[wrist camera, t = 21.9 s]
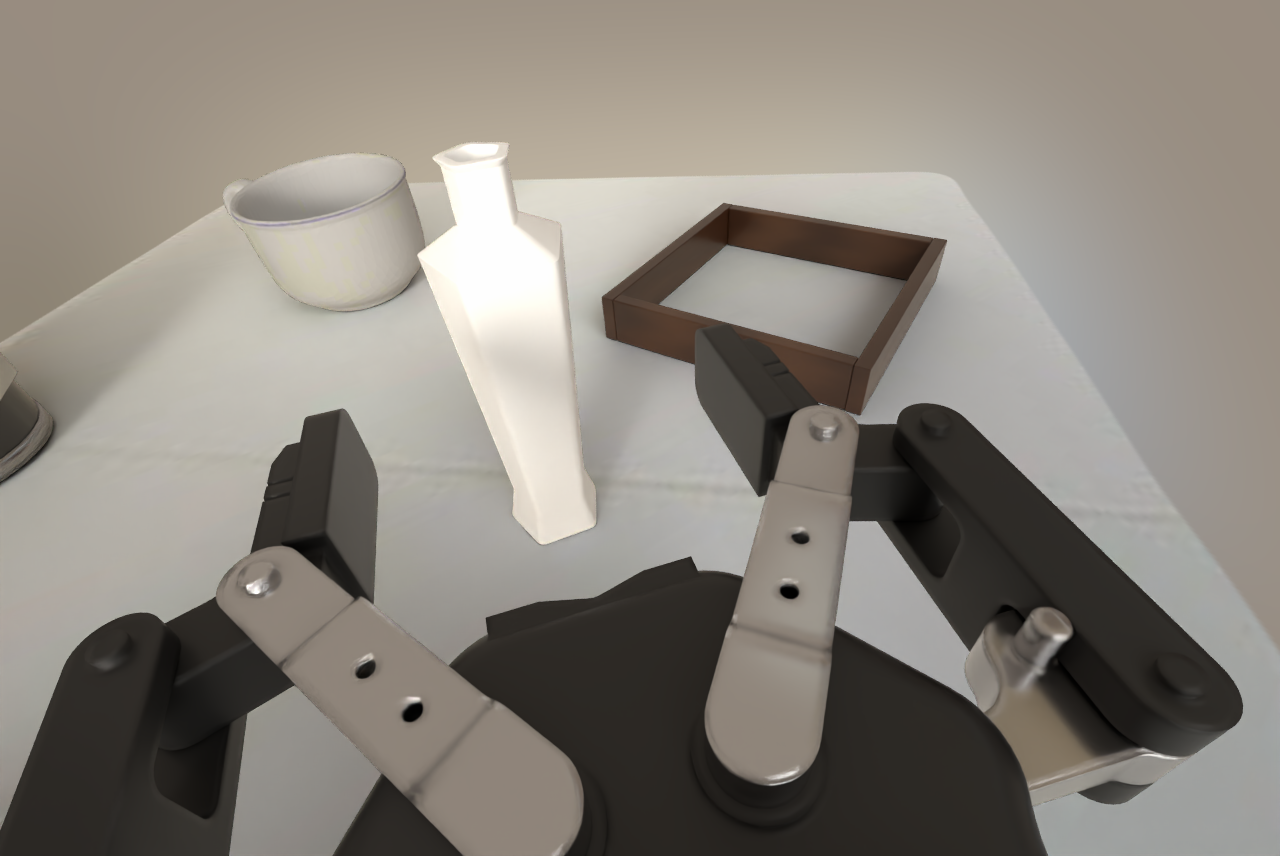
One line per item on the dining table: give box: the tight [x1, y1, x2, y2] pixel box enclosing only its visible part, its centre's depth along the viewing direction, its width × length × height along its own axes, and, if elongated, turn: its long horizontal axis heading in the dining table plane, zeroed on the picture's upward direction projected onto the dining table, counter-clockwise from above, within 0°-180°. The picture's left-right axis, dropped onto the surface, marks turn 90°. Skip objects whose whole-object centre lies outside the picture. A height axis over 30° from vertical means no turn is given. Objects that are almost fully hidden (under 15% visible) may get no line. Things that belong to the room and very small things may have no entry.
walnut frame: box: [602, 203, 947, 415], centre depth 37 cm, size 16×16×3 cm
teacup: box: [223, 153, 425, 311], centre depth 42 cm, size 14×11×8 cm
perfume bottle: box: [417, 142, 597, 545], centre depth 22 cm, size 5×4×15 cm
